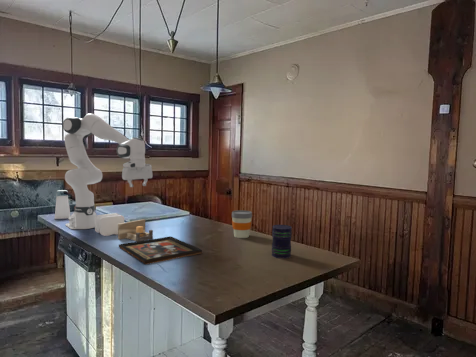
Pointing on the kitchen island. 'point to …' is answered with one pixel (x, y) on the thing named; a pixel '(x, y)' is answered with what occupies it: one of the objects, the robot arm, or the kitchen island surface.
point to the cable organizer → (108, 223)
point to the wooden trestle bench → (133, 231)
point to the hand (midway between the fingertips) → (138, 186)
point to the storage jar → (281, 241)
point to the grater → (62, 207)
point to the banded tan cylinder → (140, 230)
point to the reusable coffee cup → (241, 223)
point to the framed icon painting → (159, 249)
